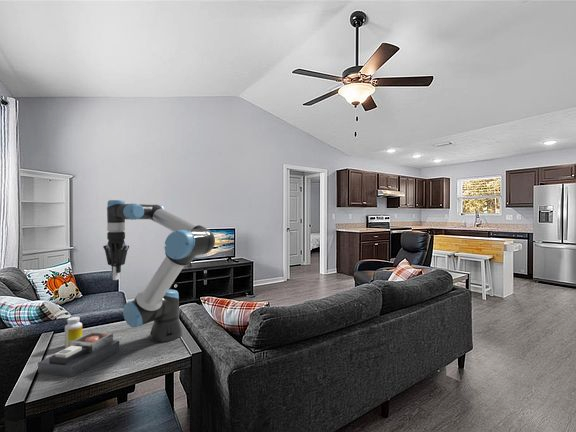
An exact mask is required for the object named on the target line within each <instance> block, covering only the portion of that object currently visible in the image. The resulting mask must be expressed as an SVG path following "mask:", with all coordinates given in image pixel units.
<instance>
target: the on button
mask: <svg viewBox="0 0 576 432" xmlns="http://www.w3.org/2000/svg"><path fill="white" fill-rule="evenodd" d="M81 350H82V347H80V346H70V347H68V348H64V349H61V350H60V351H58V352H56V353H54V355H55V357H59V358H67V357H69V356H71V355H73V354H75V353H77V352H79V351H81Z"/></svg>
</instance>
